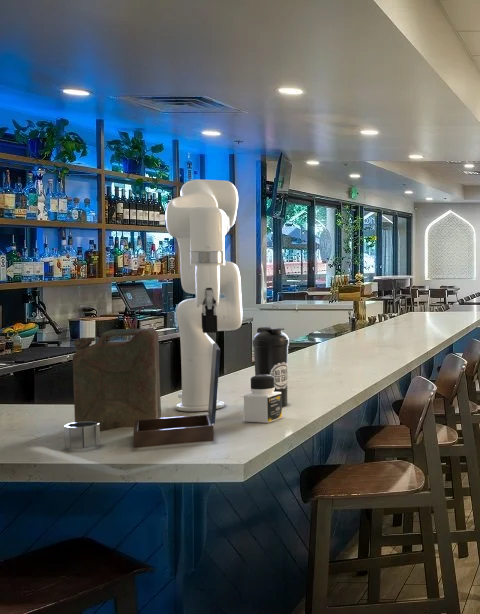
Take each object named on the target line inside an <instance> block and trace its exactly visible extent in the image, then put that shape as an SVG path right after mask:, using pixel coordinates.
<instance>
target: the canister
mask: <svg viewBox="0 0 480 614" xmlns="http://www.w3.org/2000/svg"><path fill="white" fill-rule="evenodd" d="M113 336H114V337H117V336H118V337H119V336H120V337H121V336H133V337H131V338H130V339H129V340H128V339H127V340H111V337H113ZM96 339H98V341H97V342H96V343H93V342H95V341H96ZM159 341H160V338H159V333H158V332H157V330H156V329H154V328H150V327H147V328H125V329H121V328H120V329H110V330H108V331H105V332H103V333H102V334H101V335H100V337H99V336H93V337H80V338H77V339H74V341H73V346H74V347H75V353H73V355H72V374H73V375H72V376H73V380H72V381H73V383H72V384H73V407H74V409H73V410H74V423H75V422H84V421H95V422H99V425H100V432H103V431H109V430H110V431H111V430H115V429H121V428H134V425H135V420H143V419H156V418H162V417H161V416H162V405H161V404H162V403H161V402H162V401H161V378H160V377H161V376H160V347H159V346H160V344H159V343H160V342H159ZM92 343H93V344H92Z"/></svg>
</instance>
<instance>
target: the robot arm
mask: <svg viewBox="0 0 480 614" xmlns="http://www.w3.org/2000/svg"><path fill="white" fill-rule="evenodd" d="M238 207H239V194H238V189H237V188H236V186H235V185H234V184H233V182H231V181H229V180H222V179H221V180H219V179H191V180H188V181H186V182H185V183H184V184H183V185H182V186H181V188H180V195H179V196H178V197H175V198H172V199H171V200H169V202H168V203H167V205H166V208H165V215H164V216H165V227H166V230H167V233H168V235H170V236H171V237H173V238H175V239H176V241H177V243H178V248H179V268H180V271H179V272H180V283H181V289H182V290H183V291H184V292H185V293H187V294H190V295H191V294H192V295H195V297H194V298H187V299H184V300H182V301H181V302H179V303H178V305H177V307H176V311H175V312H176V321H177V325H178V331H179V332H178V333H179V340H180V342H179V343H180V360H181V361H180V364H181V365H180V366H181V367H180V368H181V393H178V395H177V397H178V398H179V399H181V402H180V403H177V404H176V410H177V411H180V412H205V411H206V412H208V407H209V393H210V379H211V365H212V351H213V343H216V342H215V341H214V340H213V338H211V337H210V336H209V335H208V334H212V333H213V334H215V333H218V332H224V331H235V330H238V329H240V328H241V326H242V324H243V315H244V314H243V299H242V298H243V297H242V282H241V281H242V280H241V273H240V269H239V267H238V265H237V264H236V263H234V262H233V261H228V260H227V261H226V259H225V257H226V256H225V253H226V252H225V236H227V234H228V233H229V231H230V229H231V228H232V227H233V226H234V225H235V222H236V218H237V212H238ZM220 295H222V296H223V297H220ZM224 406H225V402H224V401H222V400H219V388H218V389H217V403H216V410H218V409H221V408H223V407H224Z"/></svg>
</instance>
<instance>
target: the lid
mask: <svg viewBox="0 0 480 614" xmlns="http://www.w3.org/2000/svg"><path fill="white" fill-rule="evenodd" d="M220 361H221V348H220V347H219V345H218V343H216V342H215V343H213V351H212V365H211V379H210V393H209V407H208V410H207V413H208V414H209V417H210V421H211V424H213V425H215V424H216V417H217V409H216V403H217V389H218V390H219V375H220ZM208 414H207V415H208Z"/></svg>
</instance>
